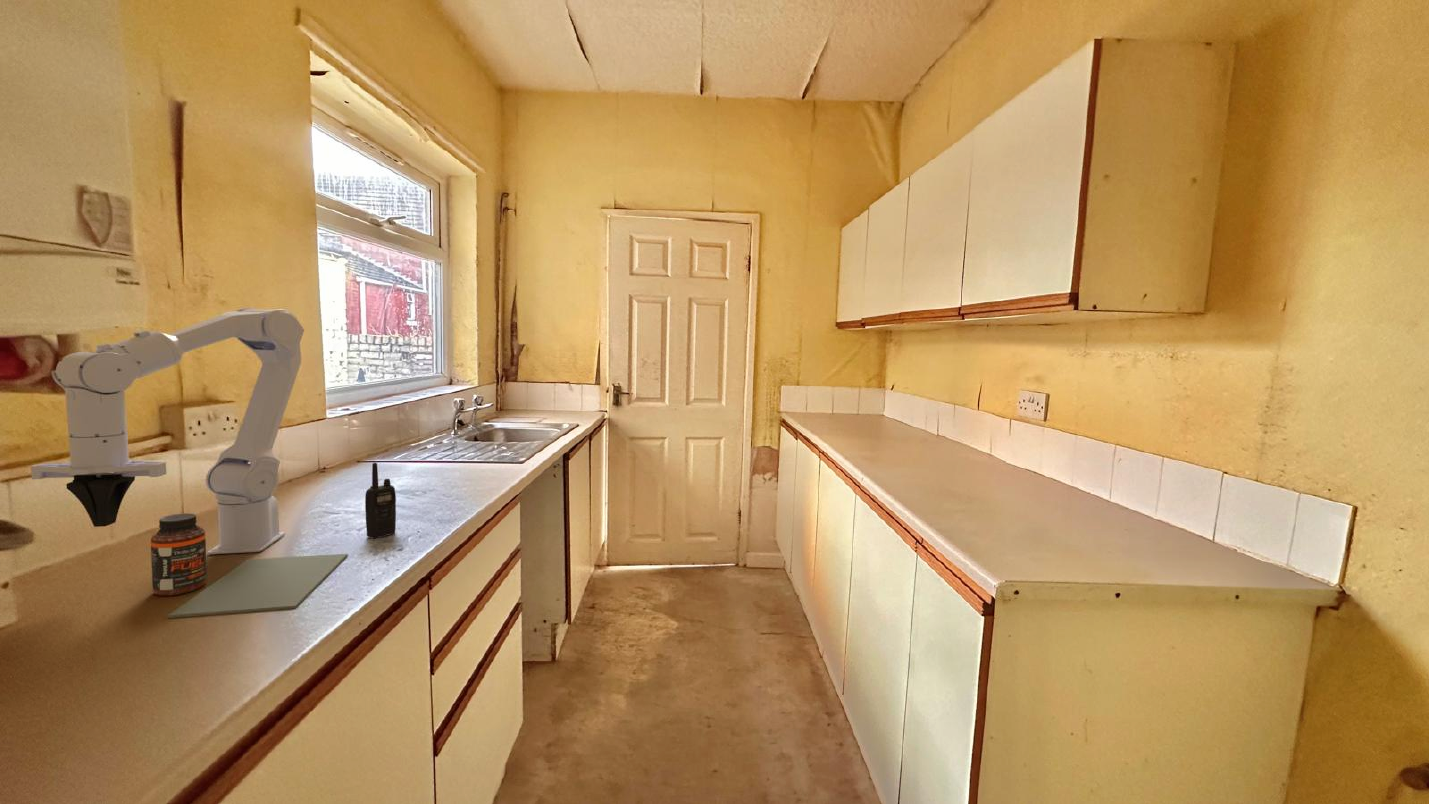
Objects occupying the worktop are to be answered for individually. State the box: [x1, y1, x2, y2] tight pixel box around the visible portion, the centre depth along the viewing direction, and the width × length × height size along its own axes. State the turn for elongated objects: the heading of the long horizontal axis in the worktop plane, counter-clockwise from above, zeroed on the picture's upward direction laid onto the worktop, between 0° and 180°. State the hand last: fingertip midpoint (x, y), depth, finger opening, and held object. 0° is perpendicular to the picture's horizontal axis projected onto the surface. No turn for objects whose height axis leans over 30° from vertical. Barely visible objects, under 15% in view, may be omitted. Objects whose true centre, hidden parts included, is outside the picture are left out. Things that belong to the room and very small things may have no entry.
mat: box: [167, 553, 349, 619], centre depth 86 cm, size 20×15×1 cm
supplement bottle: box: [150, 512, 208, 597], centre depth 83 cm, size 6×6×11 cm
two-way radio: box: [364, 462, 397, 539], centre depth 108 cm, size 6×4×15 cm
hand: (104, 524), depth 81 cm, fingers closed
